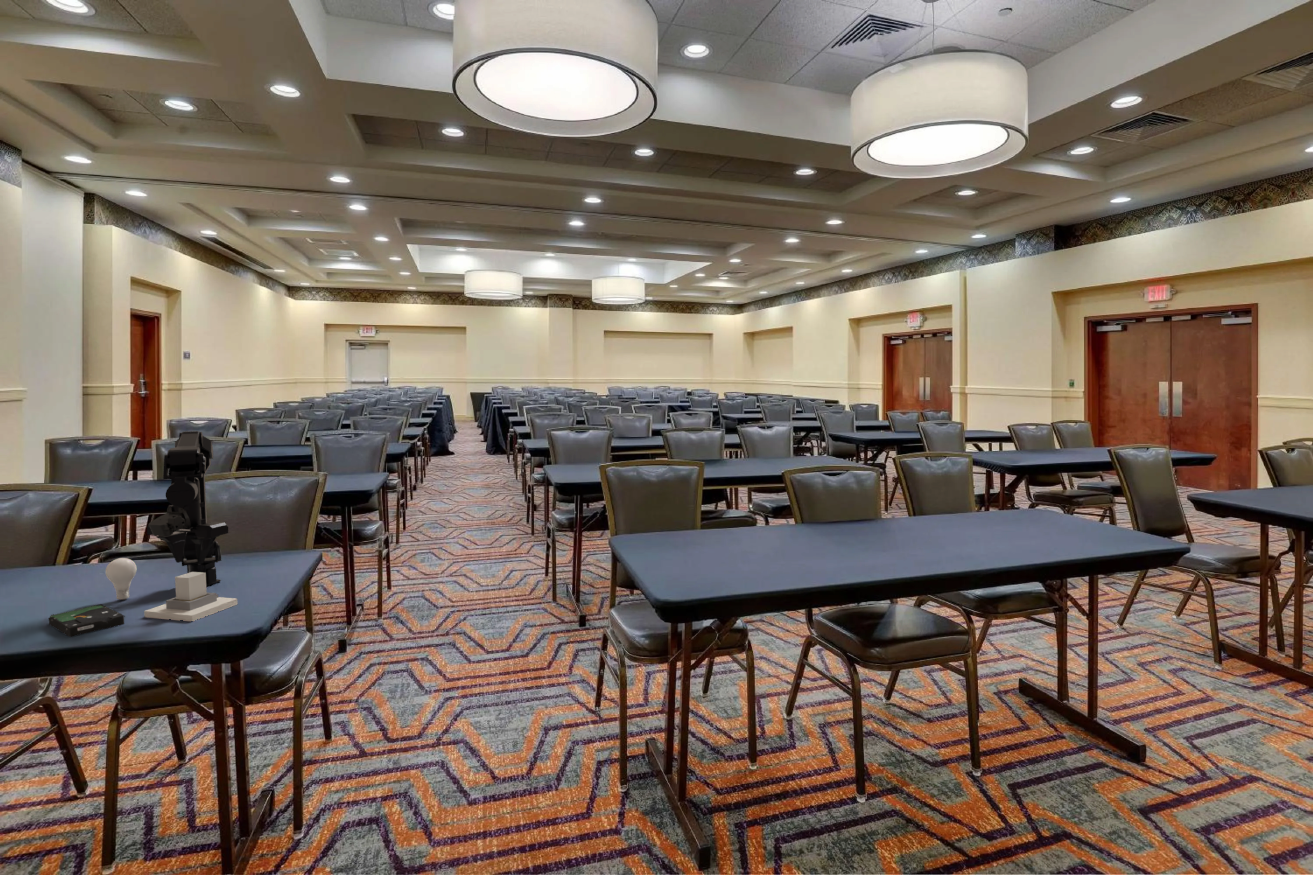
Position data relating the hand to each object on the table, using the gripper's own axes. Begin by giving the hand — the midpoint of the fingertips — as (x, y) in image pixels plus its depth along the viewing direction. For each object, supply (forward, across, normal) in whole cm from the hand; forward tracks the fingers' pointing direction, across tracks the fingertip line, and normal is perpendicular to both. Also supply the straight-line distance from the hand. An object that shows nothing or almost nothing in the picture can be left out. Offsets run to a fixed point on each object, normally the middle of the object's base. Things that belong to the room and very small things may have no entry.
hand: (189, 562), depth 168 cm
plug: (+10, 0, 0) cm, 11 cm away
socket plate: (+12, 0, 0) cm, 12 cm away
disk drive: (+13, -16, -13) cm, 24 cm away
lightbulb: (+12, -25, +3) cm, 28 cm away
